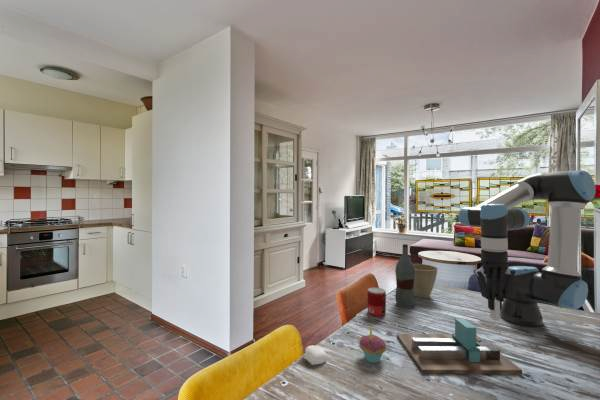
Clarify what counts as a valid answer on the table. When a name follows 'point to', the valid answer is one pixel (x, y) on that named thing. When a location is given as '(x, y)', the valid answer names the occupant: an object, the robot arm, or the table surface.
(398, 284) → the bottle
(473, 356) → the teal upright slab
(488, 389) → the table surface
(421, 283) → the plant pot
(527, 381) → the table surface
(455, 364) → the board
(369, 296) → the canned food
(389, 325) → the table surface
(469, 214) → the robot arm
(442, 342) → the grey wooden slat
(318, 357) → the garlic
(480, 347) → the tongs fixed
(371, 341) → the cupcake
